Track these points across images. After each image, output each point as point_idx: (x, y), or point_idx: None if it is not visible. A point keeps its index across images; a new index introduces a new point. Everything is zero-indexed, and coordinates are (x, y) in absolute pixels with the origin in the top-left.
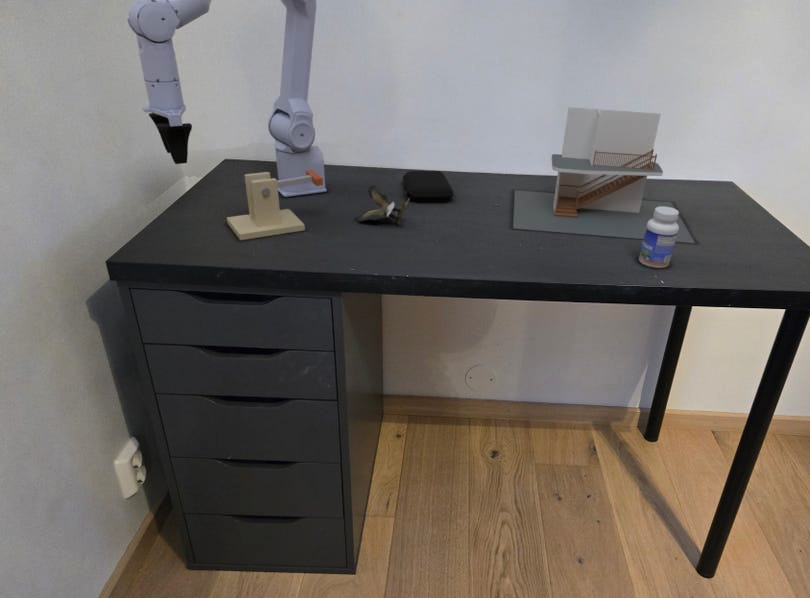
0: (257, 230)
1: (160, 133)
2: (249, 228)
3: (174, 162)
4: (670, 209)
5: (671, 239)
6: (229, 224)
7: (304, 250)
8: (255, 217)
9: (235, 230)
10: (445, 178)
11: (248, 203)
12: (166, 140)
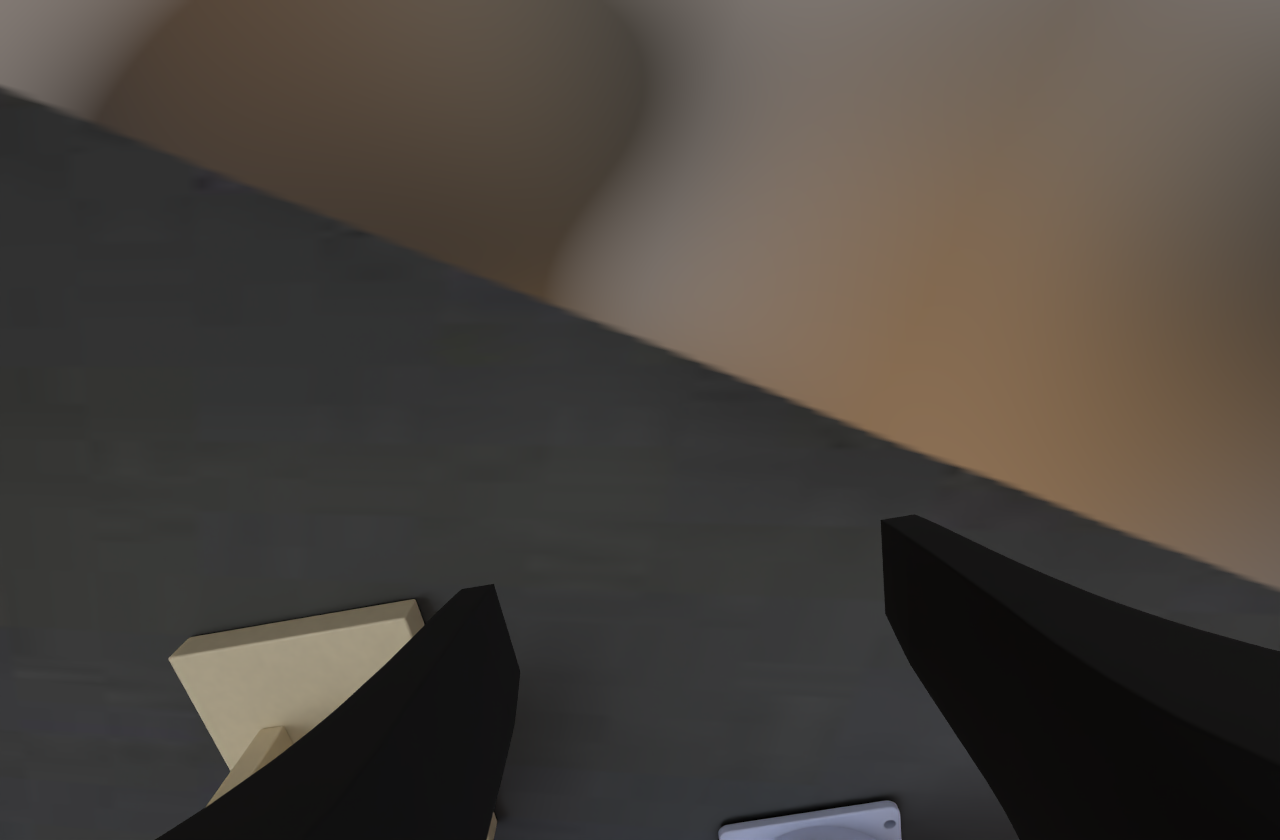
0: (216, 725)
1: (1022, 624)
2: (242, 699)
3: (466, 592)
4: None
5: None
6: (367, 611)
7: (90, 829)
8: (251, 762)
9: (246, 639)
10: None
11: None
12: (228, 791)
